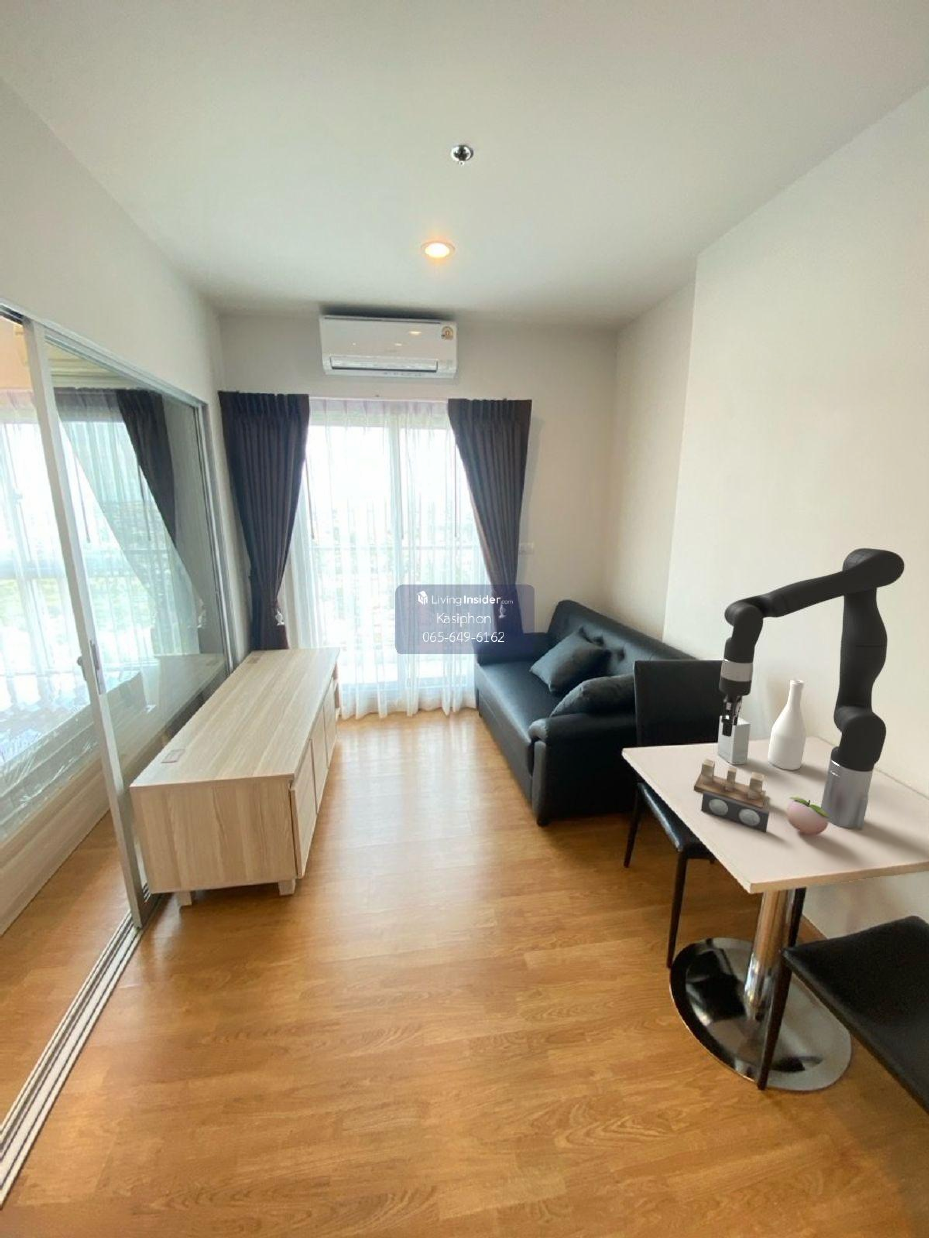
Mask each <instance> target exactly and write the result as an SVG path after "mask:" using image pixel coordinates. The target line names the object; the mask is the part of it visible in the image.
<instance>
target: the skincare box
mask: <svg viewBox="0 0 929 1238" xmlns="http://www.w3.org/2000/svg"><path fill="white" fill-rule="evenodd" d="M721 719H722V715H720V716H719V726H718V737H717V738H718V740H717V750H716V755H718V756H719V757H721V758H722V759H724V761H726V762H727V763H728V764H730V765H746V764H748V756H749V755H748V754H749V753H748V752H749V743H750V742H749V741H750V740H749V739H750V734H751V733H750V732H751V723H750V722H748V720H745V719H743V718H741V717H739V716H738V723H737V725H736V726H734V725H733V727H732V735H731V737H728V736H724V735H722V730H723V723H722V722H721ZM726 719H729V716H728V715H727V716H726Z"/></svg>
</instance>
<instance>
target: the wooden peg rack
mask: <svg viewBox="0 0 929 1238" xmlns="http://www.w3.org/2000/svg"><path fill="white" fill-rule="evenodd" d="M702 761H703V762H702V763H701V771H700V773H699V775H698V777H697V779H696V781H695V783H694V786H693V791H695V792H698V793H702V794H703V792H704V791H707V792H710V793H713V794H717V795H720V796H723V797H726V798H729V799H732V800H735V801H739V802H742V803H745V804H748V805H751V806H754V807H757V808H760V809H763V806H764V802H765V798H766V794H767V791H766V790H764V789H763V784H764V776H765V775H764V774H762V773H757V772H754V771H752V772H751V775H750V779H749V785H746V784H743V783H740V782H737V781H736V778H737V777H736V776H737V769H738V768H737V767H733V766H730V765H729V767H728V769H727V773H726V778H723V777H720V776H716V775H715V767H716V761H715V760H712V759H708V758H704V759H703V760H702Z"/></svg>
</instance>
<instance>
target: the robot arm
mask: <svg viewBox="0 0 929 1238" xmlns="http://www.w3.org/2000/svg"><path fill="white" fill-rule="evenodd" d="M904 572H905V562H904V560H903V558H902V557H901V556H900V555H899V554H898V553H896V552H893V551H891V550H887V549H878V548H870V547H869V548H866V547H863V548H857V549H853V551H851V552H850V553H849V554H847V556H846V557H845V558H844V560H843V564H842V568H841V570H840V571H837V572H835V573H834V572H833V573H831V574H827V575H823V576H818V577H813V578H809V579H805V580H800V581H796V582H793V583H790V584H786V585H785V586H782V587H779V588H777V589H774V590H772V591H770V592H766V593H762V594H759V595H757V594H756V595H753V596H749V597H745V598H741V599H738V600H737V601H736V600H735V601H734V602H732V603H730V604H729V605H728V606H727V607H726V609H725V611H724V613H723V614H724V619H725V621H726V622H727V623H728V624H729V625H730V626H732V627H733V629H732V633H731V636H730V637H727V639H726V640H725V642H724V643H725V644H724V650H723V651H724V652H723V659H722V663H721V668H720V669H721V670H720V677H719V685H718V688H719V691H721V692H722V693H725V694H726V695H725V697H724V699H723V703H722V704H723V706H722V713H721V716H722V719H721V722H722V723H723V730H722V735H724V736H728V737H731V735H732V727H733V725H734V726H736V725H737V723H738V717H739V714H740V712H741V709H742V708H743V700H744V698H743V697H745V696H749V695H750V694H751V690H752V682H753V675H754V661H755V660H754V658H755V649H756V646H757V643H758V640H759V638H760V635H761V633H762V630H763V627H764V619H765V618H780V617H784V616H787V615H790V614H793V613H795V612H798V611H802V610H804V609H807V608H809V607H812V606H814V605H817V604H821V603H823V602H827V601H830V600H832V599H833V600H834V599H837V598H840V597H843V609H842V610H843V611H842V612H843V613H842V628H841V629H842V631H841V639H840V650H839V651H840V652H839V653H840V654H839V655H840V656H839V682H838V683H839V684H838V692H837V696H836V701H835V705H834V711H833V717H832V718H833V722H834V724H835V727H836V729H838V730H839V732H840V733H841V736H840V740H839V745H838V746H837V745H836V746H835V747H833V748H832V749H831V752H830V757H829V761H828V762H829V763H828V767H827V773H826V778H825V784H824V788H823V794H822V800H821V803H820V804H821V805H820V808H822V809H823V810H824V811H825V813H826V814H827V816H828V818H829V819H828V822H830V823H832V824H834V825H836V826H839V827H842V828H847V829H858V830H862V829H863V826H864V821H865V818H866V817H865V816H866V812H867V806H868V803H869V791H870V787H871V786H870V785H871V782H872V777H873V773H874V768H875V765H876V764H878V762H879V760H880V758H881V755H882V752H883V748H884V745H885V741H886V736H887V727H886V723H885V721H884V720H883V719H882V718H881V717H880V716H879V715H877V714H876V713H875V712H874V711H873V705H872V704H873V703H872V701H873V700H872V697H873V688H874V684H875V682H876V681H877V678H878V677H879V675H880V674H881V672H882V671H883V669H884V666H885V664H886V659H887V650H888V632H887V630H886V626H885V623H884V621H883V618H882V616H881V614H880V611H879V610H880V609H879V608H878V602H877V599H878V598H877V594H878V593H877V592H878V588H882V587H887V586H889V585H892V584H893V583H895V582H897V581H898V580H899V579H900V578H901V577H902V574H903V573H904ZM727 715H728V716H729V719H726V716H727Z"/></svg>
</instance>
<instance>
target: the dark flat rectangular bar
mask: <svg viewBox="0 0 929 1238" xmlns="http://www.w3.org/2000/svg"><path fill="white" fill-rule="evenodd" d="M700 811H701V812H703V813H706V814H709V815H712V816H715V817H718V818H721V819H723V820H727V821H729V822H733V823H735V824H738V825H741V826H743V827H746V828H750V829H753V830H755V831H758V832H762V833H764V834H767V830H768V829H767V828H768V823H769V816H770V811H769V810H768V809H767V810H766V809H763V808H762V809H760V808H757V807H754V806H751V805H748V804H745V803H742V802H739V801H735V800H732V799H729V798H726V797H723V796H720V795H717V794H713V793H710V792H707V791H704V792H703V793H702V801H701V807H700Z"/></svg>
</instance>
